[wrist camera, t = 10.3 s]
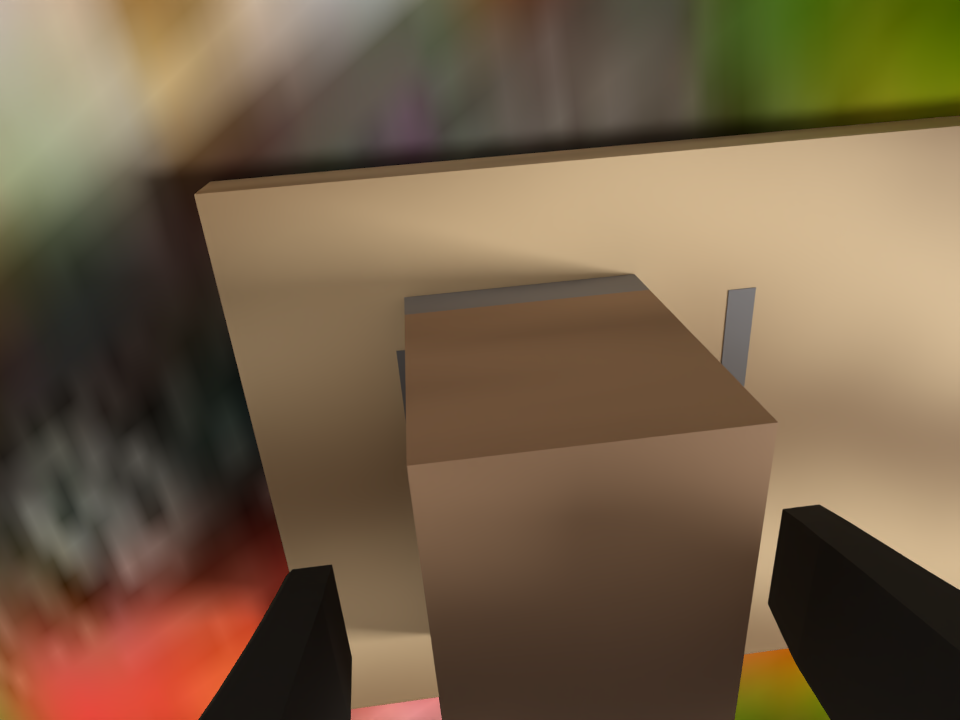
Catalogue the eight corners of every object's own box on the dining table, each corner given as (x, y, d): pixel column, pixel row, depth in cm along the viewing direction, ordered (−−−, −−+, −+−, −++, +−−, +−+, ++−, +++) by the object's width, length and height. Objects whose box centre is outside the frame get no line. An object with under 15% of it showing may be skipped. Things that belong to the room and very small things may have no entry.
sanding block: (622, 611, 15) (715, 850, 11) (446, 634, 15) (465, 890, 11) (634, 274, 12) (778, 423, 7) (404, 297, 12) (405, 466, 7)
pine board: (1090, 572, 18) (1127, 601, 17) (329, 675, 17) (325, 713, 16) (1301, 85, 13) (1372, 89, 12) (210, 181, 11) (193, 194, 10)
